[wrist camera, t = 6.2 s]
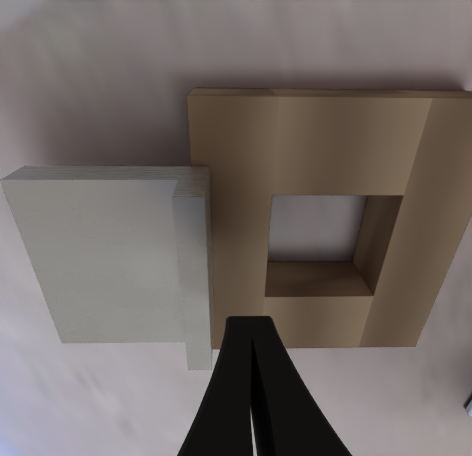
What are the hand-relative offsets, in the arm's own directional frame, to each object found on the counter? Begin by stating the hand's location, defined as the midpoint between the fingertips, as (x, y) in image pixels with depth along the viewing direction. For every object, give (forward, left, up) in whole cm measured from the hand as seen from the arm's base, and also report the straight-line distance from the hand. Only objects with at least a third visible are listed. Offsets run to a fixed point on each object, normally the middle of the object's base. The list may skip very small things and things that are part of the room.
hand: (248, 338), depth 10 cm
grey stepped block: (+5, 0, -5) cm, 7 cm away
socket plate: (-4, 0, -8) cm, 9 cm away
